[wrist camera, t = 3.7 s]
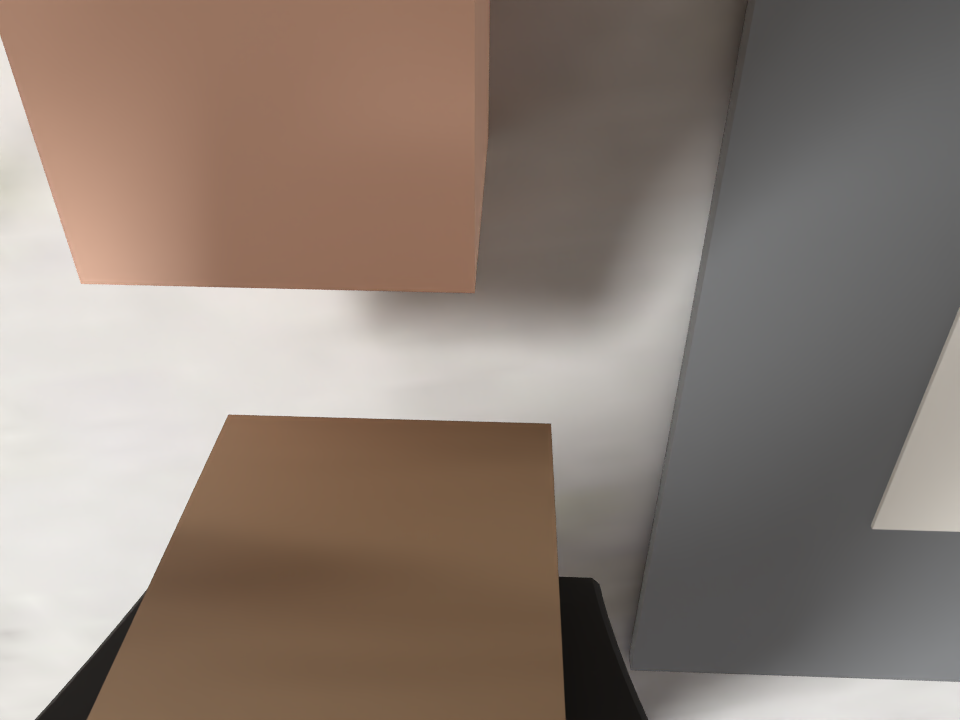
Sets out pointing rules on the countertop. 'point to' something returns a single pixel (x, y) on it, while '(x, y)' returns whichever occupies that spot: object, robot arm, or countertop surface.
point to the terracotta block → (261, 138)
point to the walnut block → (354, 579)
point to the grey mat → (821, 363)
